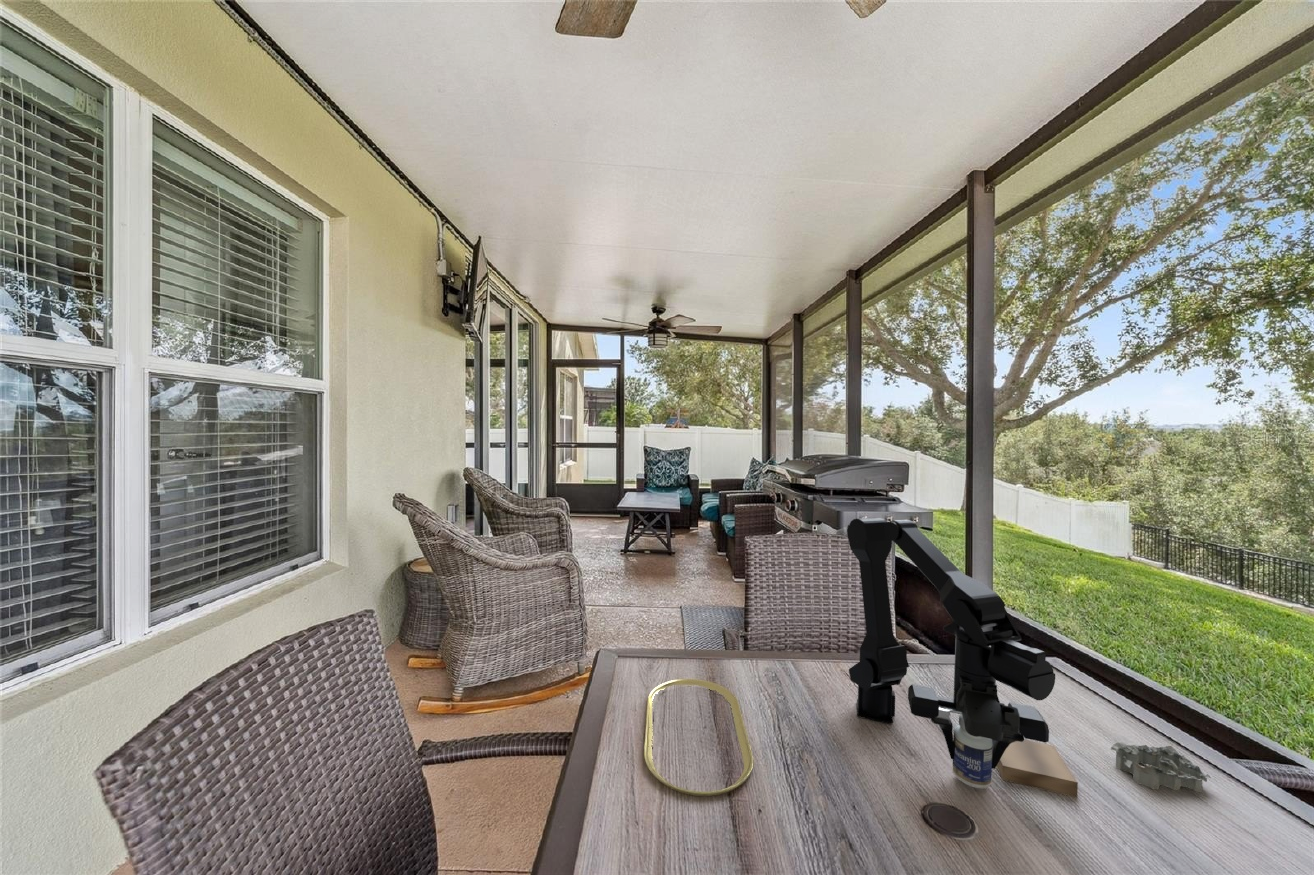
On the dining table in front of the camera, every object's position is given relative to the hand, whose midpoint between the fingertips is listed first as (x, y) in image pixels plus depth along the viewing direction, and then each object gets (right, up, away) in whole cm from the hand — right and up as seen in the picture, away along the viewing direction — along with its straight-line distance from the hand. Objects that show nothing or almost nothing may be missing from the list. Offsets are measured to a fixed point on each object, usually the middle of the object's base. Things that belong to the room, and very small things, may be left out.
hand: (971, 762), depth 81 cm
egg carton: (+33, -5, +3) cm, 34 cm away
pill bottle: (0, -3, 0) cm, 3 cm away
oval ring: (-44, -3, +13) cm, 46 cm away
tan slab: (+12, -4, +4) cm, 13 cm away
